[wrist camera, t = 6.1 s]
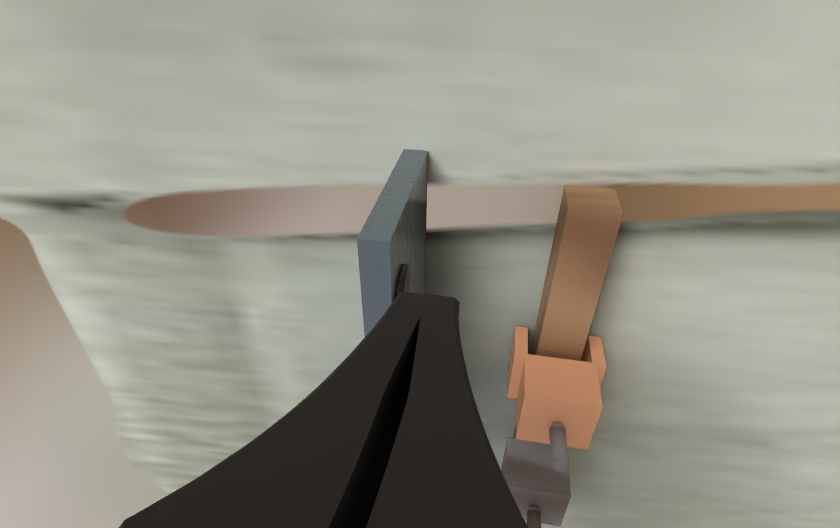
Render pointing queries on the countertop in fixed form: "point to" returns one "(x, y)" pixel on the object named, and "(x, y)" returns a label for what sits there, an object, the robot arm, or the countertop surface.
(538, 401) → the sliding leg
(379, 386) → the robot arm
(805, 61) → the countertop surface
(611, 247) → the trammel beam
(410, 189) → the flange plate
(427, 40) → the countertop surface
